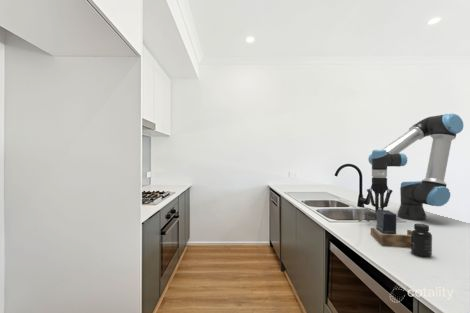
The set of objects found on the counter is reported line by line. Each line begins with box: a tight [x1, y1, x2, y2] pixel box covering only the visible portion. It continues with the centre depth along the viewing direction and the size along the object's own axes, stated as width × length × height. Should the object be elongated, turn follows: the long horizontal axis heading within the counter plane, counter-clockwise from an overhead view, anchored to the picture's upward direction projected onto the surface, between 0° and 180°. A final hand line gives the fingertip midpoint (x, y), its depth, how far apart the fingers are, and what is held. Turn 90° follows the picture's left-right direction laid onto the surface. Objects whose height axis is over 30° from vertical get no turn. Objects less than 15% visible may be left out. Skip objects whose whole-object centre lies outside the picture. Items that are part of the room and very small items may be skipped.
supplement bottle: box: [410, 223, 433, 259], centre depth 103 cm, size 7×7×12 cm
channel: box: [370, 227, 413, 249], centre depth 119 cm, size 18×18×5 cm
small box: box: [375, 209, 397, 234], centre depth 134 cm, size 11×6×10 cm, turn 168°
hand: (379, 219), depth 144 cm, fingers closed
